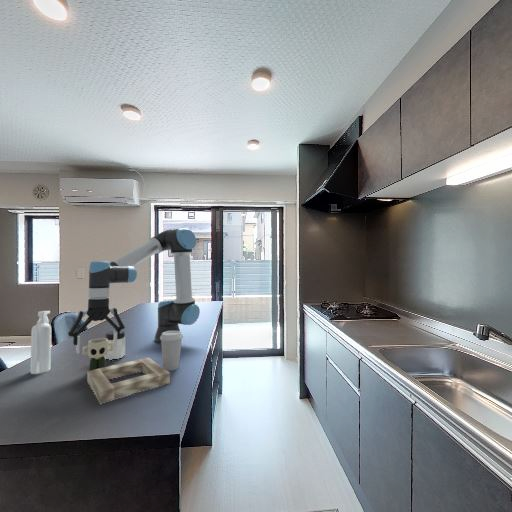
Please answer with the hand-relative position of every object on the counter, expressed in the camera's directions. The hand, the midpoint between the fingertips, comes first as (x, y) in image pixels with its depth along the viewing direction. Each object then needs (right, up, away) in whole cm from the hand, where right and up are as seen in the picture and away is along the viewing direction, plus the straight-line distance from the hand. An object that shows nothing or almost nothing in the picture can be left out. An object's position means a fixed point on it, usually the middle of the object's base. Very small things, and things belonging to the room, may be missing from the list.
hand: (97, 349), depth 112 cm
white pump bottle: (-24, -9, 0) cm, 26 cm away
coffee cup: (+29, -10, +5) cm, 31 cm away
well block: (+18, -9, -10) cm, 22 cm away
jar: (-2, -10, +17) cm, 20 cm away
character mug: (0, -10, 0) cm, 10 cm away
